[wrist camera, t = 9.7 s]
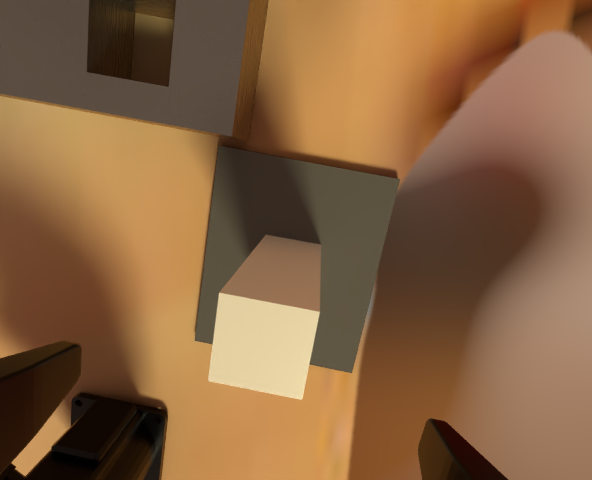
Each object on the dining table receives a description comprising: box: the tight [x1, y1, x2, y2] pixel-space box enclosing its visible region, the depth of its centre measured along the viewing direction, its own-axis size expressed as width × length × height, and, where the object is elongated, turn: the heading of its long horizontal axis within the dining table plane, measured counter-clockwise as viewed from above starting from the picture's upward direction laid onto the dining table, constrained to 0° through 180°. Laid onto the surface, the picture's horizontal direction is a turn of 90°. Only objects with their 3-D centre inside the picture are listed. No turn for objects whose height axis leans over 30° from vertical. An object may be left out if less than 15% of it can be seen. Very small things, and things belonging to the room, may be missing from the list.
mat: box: [195, 146, 400, 373], centre depth 20 cm, size 12×10×1 cm
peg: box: [208, 235, 321, 400], centre depth 15 cm, size 3×3×9 cm
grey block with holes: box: [0, 0, 268, 141], centre depth 16 cm, size 7×18×4 cm, turn 80°
